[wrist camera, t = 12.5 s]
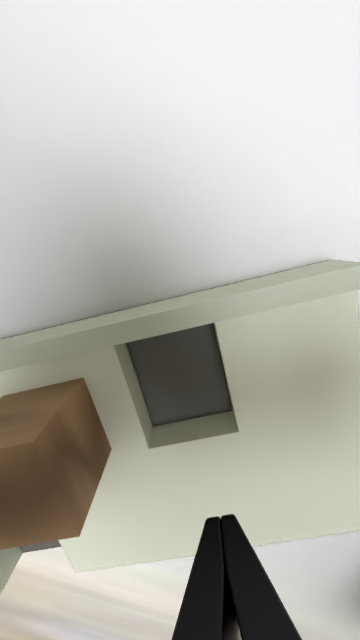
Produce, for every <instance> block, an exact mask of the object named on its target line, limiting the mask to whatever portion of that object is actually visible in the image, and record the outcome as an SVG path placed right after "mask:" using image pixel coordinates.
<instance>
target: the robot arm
mask: <svg viewBox="0 0 360 640" xmlns="http://www.w3.org/2000/svg"><path fill="white" fill-rule="evenodd" d="M241 639H242V640H302V639H301V637H300V635H299V633H298V631H297V629H296V628H295V626H294V624H293V622H292V620H291V618H290V616H289V615H288V613H287V611H286V609H285V607H284V605H283V603H282V602H281V600H280V598H279V596H278V594H277V592H276V590H275V588H274V587H273V585H272V583H271V581H270V579H269V577H268V575H267V574H266V572H265V570H264V568H263V566H262V564H261V562H260V561H259V559H258V557H257V555H256V553H255V551H254V549H253V548H252V546H251V544H250V542H249V540H248V538H247V536H246V535H245V533H244V531H243V529H242V527H241V525H240V523H239V522H238V520H237V518H236V516H235V515H234V514H228V515H223V516H221V518H220V517H219V516H215V517H209V518H207V519H206V521H205V524H204V527H203V531H202V534H201V538H200V541H199V545H198V548H197V552H196V555H195V559H194V562H193V566H192V569H191V573H190V577H189V580H188V584H187V587H186V591H185V594H184V598H183V601H182V605H181V608H180V612H179V615H178V619H177V622H176V626H175V629H174V633H173V636H172V640H241Z"/></svg>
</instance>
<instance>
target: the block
mask: <svg viewBox="0 0 360 640" xmlns="http://www.w3.org/2000/svg"><path fill="white" fill-rule="evenodd" d="M111 450H112V448H111V446H110V443H109V441H108V438H107V436H106V433H105V430H104V428H103V425H102V423H101V420H100V418H99V415H98V413H97V410H96V408H95V405H94V403H93V400H92V398H91V395H90V392H89V390H88V387H87V385H86V382H85V380H84V377H83V378H79V379H75V380H70V381H66V382H62V383H57V384H53V385H48V386H44V387H40V388H35V389H31V390H26V391H22V392H18V393H13V394H9V395H4V396H2V397H1V398H0V550H3V549H8V548H14V547H20V546H26V545H32V544H38V543H44V542H50V541H56V540H62V539H68V538H74V537H80V534H81V531H82V528H83V526H84V523H85V520H86V517H87V515H88V512H89V509H90V507H91V504H92V501H93V498H94V496H95V493H96V490H97V488H98V485H99V482H100V479H101V477H102V474H103V471H104V469H105V466H106V463H107V460H108V458H109V455H110V452H111Z"/></svg>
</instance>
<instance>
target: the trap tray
mask: <svg viewBox="0 0 360 640" xmlns="http://www.w3.org/2000/svg"><path fill="white" fill-rule="evenodd" d="M359 289H360V262H350V261H340V260H327V261H323V262H319V263H315V264H311V265H307V266H303V267H298V268H294V269H290V270H286V271H282V272H278V273H274V274H269V275H265V276H261V277H257V278H253V279H249V280H245V281H240V282H236V283H232V284H228V285H224V286H220V287H216V288H211V289H207V290H203V291H199V292H195V293H191V294H187V295H183V296H178V297H174V298H170V299H166V300H162V301H158V302H154V303H149V304H145V305H141V306H137V307H133V308H129V309H125V310H120V311H116V312H112V313H108V314H104V315H100V316H96V317H91V318H87V319H83V320H79V321H75V322H71V323H67V324H62V325H58V326H54V327H50V328H46V329H42V330H38V331H34V332H29V333H25V334H21V335H17V336H13V337H9V338H5V339H0V398H1V397H2V396H4V395H9V394H13V393H18V392H22V391H26V390H31V389H35V388H40V387H44V386H48V385H53V384H57V383H62V382H66V381H70V380H75V379H79V378H83V377H84V380H85V382H86V385H87V387H88V390H89V392H90V395H91V398H92V400H93V403H94V405H95V408H96V410H97V413H98V415H99V418H100V420H101V423H102V425H103V428H104V430H105V433H106V436H107V438H108V441H109V443H110V446H111V448H112V450H111V452H110V455H109V458H108V460H107V463H106V466H105V469H104V471H103V474H102V477H101V479H100V482H99V485H98V488H97V490H96V493H95V496H94V498H93V501H92V504H91V507H90V509H89V512H88V515H87V517H86V520H85V523H84V526H83V528H82V531H81V534H80V537H74V538H68V539H62V540H56V541H50V542H44V543H38V544H32V545H26V546H20V547H14V548H8V549H3V550H0V594H1V592H2V590H3V589H4V587H5V585H6V583H7V581H8V579H9V577H10V575H11V574H12V572H13V570H14V568H15V566H16V564H17V562H18V560H19V559H20V557H21V555H22V553H24V552H30V551H36V550H43V549H49V548H55V547H61V546H62V548H63V550H64V552H65V554H66V556H67V558H68V560H69V562H70V564H71V566H72V568H73V570H74V572H75V573H80V572H86V571H93V570H100V569H106V568H113V567H120V566H126V565H133V564H140V563H147V562H153V561H160V560H167V559H173V558H180V557H187V556H193V555H196V552H197V548H198V545H199V541H200V538H201V534H202V531H203V527H204V524H205V521H206V519H207V518H209V517H215V516H219V517H220V518H221V516H223V515H228V514H234V515H235V516H236V518H237V520H238V522H239V523H240V525H241V527H242V529H243V531H244V533H245V535H246V536H247V538H248V540H249V542H250V544H251V546H252V547H254V546H260V545H267V544H274V543H281V542H287V541H294V540H301V539H307V538H314V537H321V536H327V535H334V534H341V533H347V532H354V531H360V323H359V308H358V293H357V290H359ZM213 324H214V328H215V332H214V328H213ZM215 333H216V336H215ZM216 337H217V341H216ZM217 342H218V345H217ZM218 346H219V350H218ZM219 351H220V354H219ZM220 355H221V359H220ZM221 360H222V363H221ZM222 364H223V368H222ZM223 369H224V372H223ZM224 373H225V377H224ZM225 378H226V381H225ZM226 382H227V385H226ZM227 386H228V390H227ZM228 391H229V394H228ZM229 395H230V399H229ZM230 400H231V403H230ZM231 404H232V408H231Z"/></svg>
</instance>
